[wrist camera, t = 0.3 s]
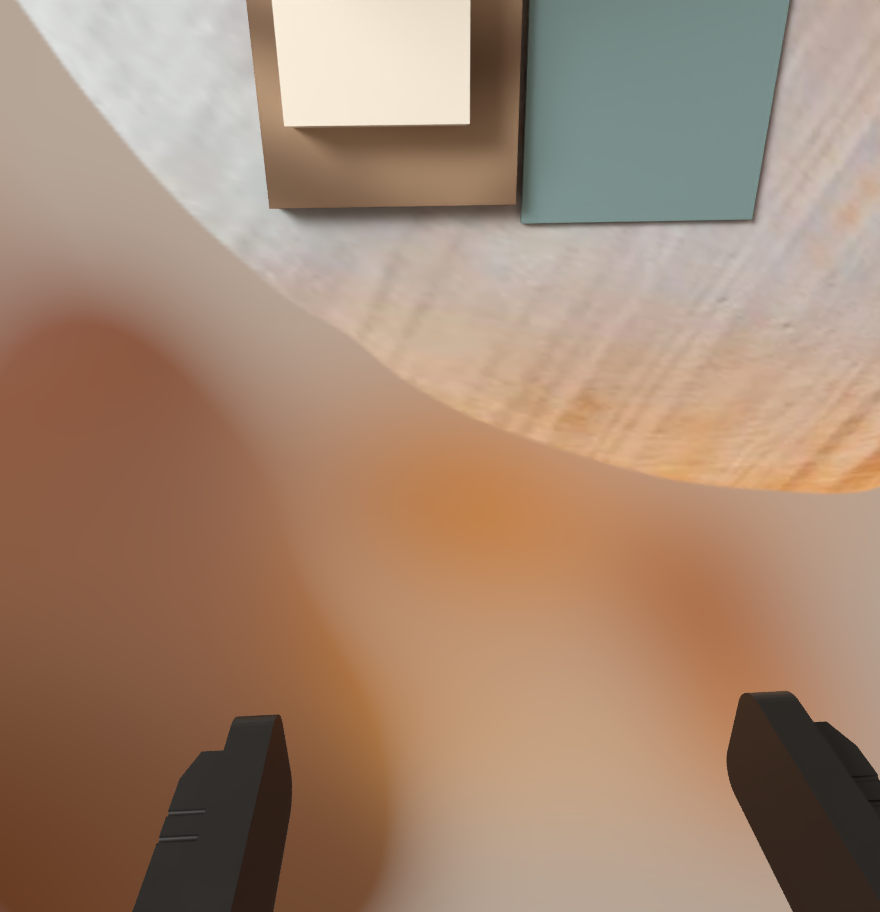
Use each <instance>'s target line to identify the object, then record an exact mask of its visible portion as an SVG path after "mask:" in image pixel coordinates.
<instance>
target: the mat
mask: <svg viewBox="0 0 880 912" xmlns="http://www.w3.org/2000/svg"><path fill="white" fill-rule="evenodd" d="M789 2H790V0H528V28H527V56H526V84H525V112H524V141H523V169H522V197H521V223H576V222H631V221H686V220H742V219H752V217H753V211H754V205H755V199H756V194H757V188H758V182H759V176H760V170H761V165H762V159H763V153H764V147H765V141H766V135H767V130H768V124H769V118H770V112H771V106H772V101H773V95H774V89H775V83H776V77H777V71H778V66H779V60H780V54H781V48H782V42H783V37H784V31H785V25H786V19H787V13H788V7H789Z"/></svg>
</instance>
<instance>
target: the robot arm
mask: <svg viewBox="0 0 880 912" xmlns="http://www.w3.org/2000/svg"><path fill="white" fill-rule="evenodd" d="M727 770H728V776H729V780H730V784H731V787H732V789H733V792H734V794H735V796H736V798H737V800H738V802H739V804H740V806H741V808H742V810H743V812H744V814H745V816H746V818H747V820H748V822H749V824H750V826H751V828H752V830H753V832H754V834H755V836H756V838H757V840H758V842H759V844H760V846H761V848H762V850H763V852H764V854H765V856H766V858H767V860H768V862H769V864H770V866H771V869H772V871H773V873H774V874H775V877H776V879H777V881H778V883H779V884H780V887H781V889H782V890H783V893H784V895H785V897H786V899H787V901H788V902H789V905H790V907H791V909H792V911H793V912H880V780H879V779H878V774H877V773H876V772H875V770H874V769H873V767H872V766H871V765H870V763H869V762H868V761H867V759H866V758H865V757H864V755H863V754H862V752H861V751H860V750H859V748H858V747H857V746H856V745H855V744H854V743H853V742H851V741H850V740H849V739H848V738H846V737H845V736H844V735H842V734H841V733H840V732H839V731H838V730H836V729H835V728H834V727H833V726H831V725H830V724H829V723H828V722H813V721H812V719H811V718H810V716H809V715H808V713H807V712H806V711H805V709H804V708H803V706H802V705H801V704H800V702H799V700H798V699H797V698H796V697H795V696H794V695H793V694H792V693H790V692H788V691H777V692H758V693H744V694H742V695H741V697H740V699H739V703H738V707H737V711H736V716H735V720H734V725H733V729H732V733H731V738H730V743H729V747H728V751H727ZM291 802H292V777H291V770H290V764H289V758H288V752H287V746H286V740H285V735H284V729H283V723H282V719H281V716H280V715H260V716H239V717H236V718H235V719H234V720H233V722H232V725H231V728H230V731H229V734H228V737H227V741H226V744H225V748H224V751H206V752H201V753H200V754H199V756H198V757H197V758H196V759H195V761H194V762H193V763H192V764H191V766H190V767H189V768H188V769H187V771H186V772H185V773H184V774H183V776H182V777H181V778H180V780H179V782H178V785H177V788H176V791H175V794H174V796H173V799H172V802H171V805H170V808H169V810H168V811H169V814H168V817H166V819H165V822H164V824H163V827H162V830H161V833H160V836H159V843H157V844H156V847H155V850H154V852H153V855H152V858H151V861H150V864H149V867H148V870H147V872H146V875H145V878H144V881H143V883H142V886H141V889H140V892H139V895H138V898H137V900H136V903H135V906H134V909H133V912H273V910H274V905H275V899H276V892H277V888H278V882H279V875H280V870H281V865H282V859H283V853H284V847H285V841H286V835H287V830H288V824H289V819H290V812H291Z"/></svg>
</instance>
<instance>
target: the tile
mask: <svg viewBox="0 0 880 912" xmlns="http://www.w3.org/2000/svg"><path fill="white" fill-rule="evenodd" d="M272 8H273V18H274V29H275V39H276V49H277V59H278V69H279V79H280V89H281V100H282V110H283V120H284V126H285V127H291V128H328V127H405V126H466V125H468V124H470V0H272Z"/></svg>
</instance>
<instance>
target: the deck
mask: <svg viewBox="0 0 880 912" xmlns="http://www.w3.org/2000/svg"><path fill="white" fill-rule="evenodd" d="M246 3H247V12H248V21H249V29H250V38H251V47H252V56H253V65H254V74H255V83H256V92H257V101H258V110H259V119H260V128H261V137H262V146H263V155H264V163H265V172H266V181H267V190H268V199H269V208H270V209H281V208H339V207H398V206H457V205H515V204H516V185H517V154H518V123H519V92H520V61H521V30H522V0H470V124H468V125H466V126H405V127H328V128H291V127H285V126H284V120H283V110H282V100H281V89H280V79H279V69H278V59H277V49H276V39H275V29H274V18H273V8H272V0H246Z"/></svg>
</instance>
